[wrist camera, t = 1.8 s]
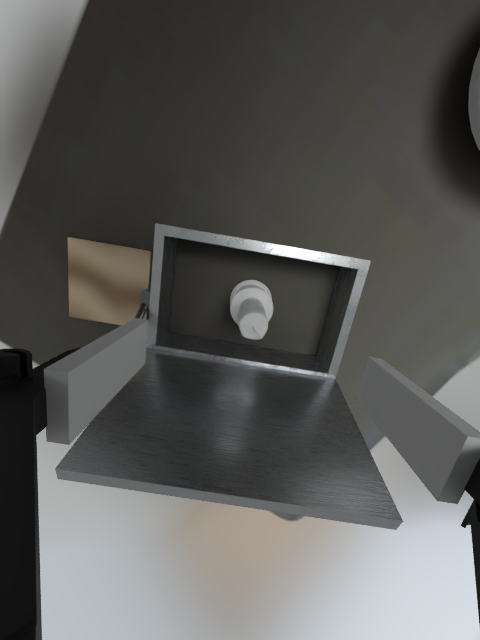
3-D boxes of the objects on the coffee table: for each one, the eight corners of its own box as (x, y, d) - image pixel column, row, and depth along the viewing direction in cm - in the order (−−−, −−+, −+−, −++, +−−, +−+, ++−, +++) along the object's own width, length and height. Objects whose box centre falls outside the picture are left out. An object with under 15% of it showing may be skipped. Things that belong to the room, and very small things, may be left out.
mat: (70, 237, 30) (67, 237, 29) (151, 251, 30) (150, 251, 29) (71, 315, 32) (69, 316, 32) (146, 328, 32) (145, 329, 32)
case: (162, 226, 29) (20, 181, 11) (350, 259, 30) (519, 268, 11) (152, 356, 33) (39, 478, 15) (316, 383, 34) (397, 532, 16)
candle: (279, 306, 31) (299, 336, 20) (245, 328, 32) (245, 370, 21) (256, 271, 30) (263, 281, 19) (221, 295, 31) (207, 320, 19)
